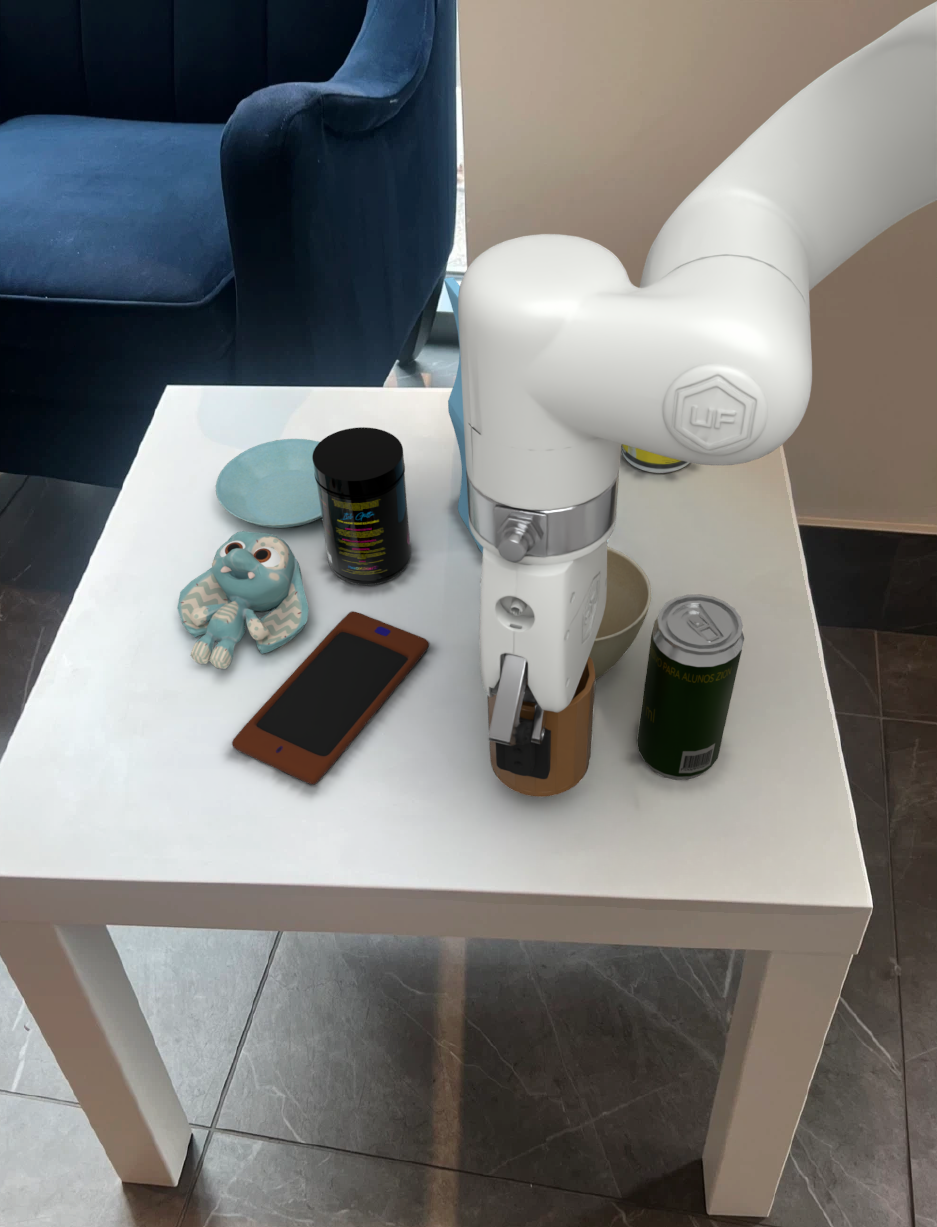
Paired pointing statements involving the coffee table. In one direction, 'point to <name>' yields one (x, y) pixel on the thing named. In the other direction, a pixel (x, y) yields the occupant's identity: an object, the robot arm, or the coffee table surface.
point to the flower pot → (620, 610)
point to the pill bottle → (651, 460)
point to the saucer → (272, 484)
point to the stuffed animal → (244, 598)
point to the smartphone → (330, 697)
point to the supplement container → (363, 504)
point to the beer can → (689, 685)
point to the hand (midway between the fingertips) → (539, 726)
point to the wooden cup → (557, 742)
